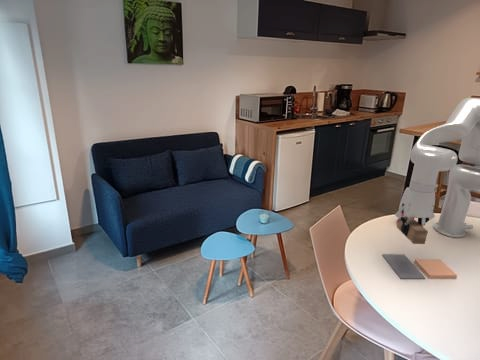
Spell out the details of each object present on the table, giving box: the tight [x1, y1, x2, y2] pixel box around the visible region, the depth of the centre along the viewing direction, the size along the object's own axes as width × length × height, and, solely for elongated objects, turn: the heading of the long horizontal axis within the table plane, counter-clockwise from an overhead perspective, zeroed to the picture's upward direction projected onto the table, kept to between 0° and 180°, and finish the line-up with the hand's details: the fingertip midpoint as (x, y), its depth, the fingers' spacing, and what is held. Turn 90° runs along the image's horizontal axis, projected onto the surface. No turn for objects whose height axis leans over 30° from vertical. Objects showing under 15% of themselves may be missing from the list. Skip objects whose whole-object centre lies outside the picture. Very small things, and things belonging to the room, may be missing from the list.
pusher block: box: [396, 215, 429, 245], centre depth 118 cm, size 12×4×5 cm, turn 2°
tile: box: [413, 258, 458, 280], centre depth 122 cm, size 2×10×10 cm
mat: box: [381, 253, 427, 280], centre depth 124 cm, size 9×15×1 cm, turn 2°
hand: (410, 233), depth 119 cm, fingers closed on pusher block, 4 cm apart
